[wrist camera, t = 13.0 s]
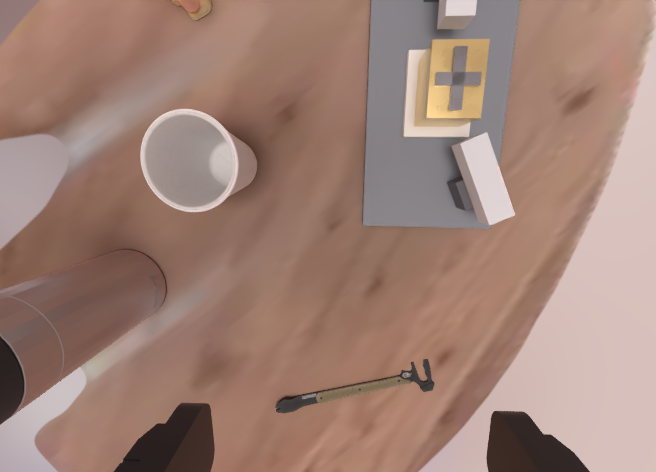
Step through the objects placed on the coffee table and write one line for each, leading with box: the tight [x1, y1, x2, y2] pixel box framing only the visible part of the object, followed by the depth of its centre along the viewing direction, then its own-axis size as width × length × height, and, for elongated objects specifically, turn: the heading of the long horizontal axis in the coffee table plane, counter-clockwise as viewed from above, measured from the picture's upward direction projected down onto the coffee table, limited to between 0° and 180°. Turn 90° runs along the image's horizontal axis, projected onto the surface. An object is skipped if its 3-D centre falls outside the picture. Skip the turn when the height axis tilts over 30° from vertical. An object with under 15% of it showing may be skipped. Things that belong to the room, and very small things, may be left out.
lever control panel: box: [362, 0, 520, 229], centre depth 29 cm, size 27×14×6 cm, turn 179°
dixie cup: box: [140, 109, 257, 212], centre depth 30 cm, size 8×8×10 cm
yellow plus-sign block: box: [414, 39, 490, 127], centre depth 27 cm, size 6×4×5 cm
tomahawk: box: [276, 359, 434, 413], centre depth 40 cm, size 21×7×1 cm, turn 104°
